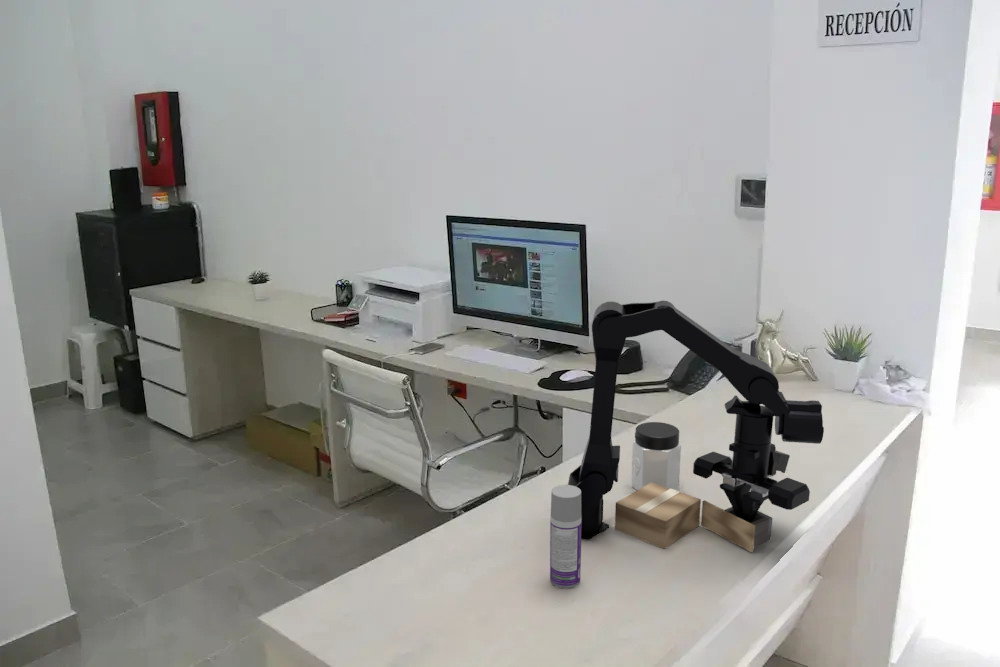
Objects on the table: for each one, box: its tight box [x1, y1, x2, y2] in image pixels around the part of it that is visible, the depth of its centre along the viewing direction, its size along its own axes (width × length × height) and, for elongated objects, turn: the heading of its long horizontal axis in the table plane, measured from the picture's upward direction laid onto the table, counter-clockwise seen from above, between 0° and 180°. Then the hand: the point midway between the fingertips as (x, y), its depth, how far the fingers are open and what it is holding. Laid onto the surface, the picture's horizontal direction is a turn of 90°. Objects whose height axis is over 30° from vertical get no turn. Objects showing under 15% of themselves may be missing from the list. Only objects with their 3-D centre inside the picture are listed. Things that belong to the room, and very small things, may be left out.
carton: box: [614, 482, 702, 549], centre depth 144 cm, size 11×10×5 cm
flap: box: [700, 499, 774, 553], centre depth 141 cm, size 11×5×5 cm, turn 33°
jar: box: [630, 421, 682, 491], centre depth 158 cm, size 9×8×12 cm
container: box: [549, 484, 582, 590], centre depth 127 cm, size 5×5×15 cm
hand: (745, 526), depth 139 cm, fingers closed
